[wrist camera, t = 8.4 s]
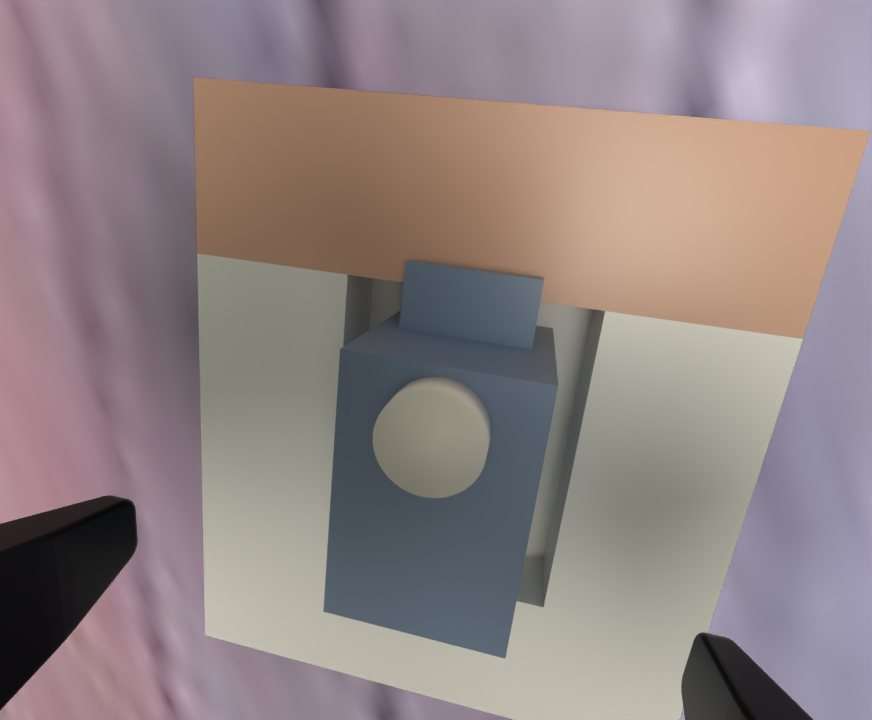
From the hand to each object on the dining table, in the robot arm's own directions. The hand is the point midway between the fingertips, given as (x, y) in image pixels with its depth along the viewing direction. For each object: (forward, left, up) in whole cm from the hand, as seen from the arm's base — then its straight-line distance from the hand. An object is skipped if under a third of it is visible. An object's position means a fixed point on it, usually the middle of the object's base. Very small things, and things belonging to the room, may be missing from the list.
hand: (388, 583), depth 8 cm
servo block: (0, 0, -7) cm, 7 cm away
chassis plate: (0, 0, -8) cm, 8 cm away
